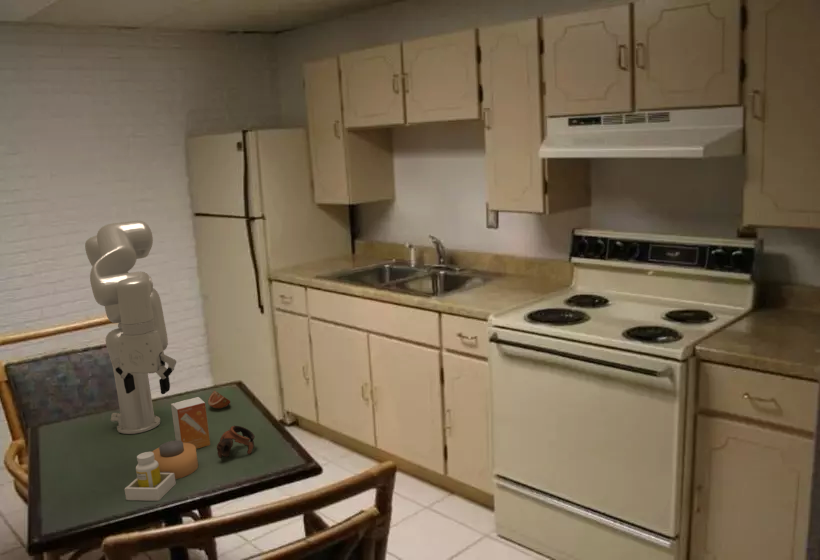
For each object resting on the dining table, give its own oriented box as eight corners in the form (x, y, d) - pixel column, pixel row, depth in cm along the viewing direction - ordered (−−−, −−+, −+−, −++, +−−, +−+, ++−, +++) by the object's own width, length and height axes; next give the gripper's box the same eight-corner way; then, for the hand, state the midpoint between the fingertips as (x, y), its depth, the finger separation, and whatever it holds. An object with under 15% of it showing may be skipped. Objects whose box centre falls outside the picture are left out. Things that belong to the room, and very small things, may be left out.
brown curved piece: (225, 446, 208) (237, 421, 207) (252, 463, 205) (264, 437, 205) (201, 454, 196) (214, 427, 196) (229, 472, 194) (242, 445, 193)
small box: (182, 453, 204) (176, 409, 201) (176, 446, 209) (170, 403, 207) (211, 445, 208) (205, 401, 206) (204, 438, 213) (198, 396, 211)
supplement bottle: (161, 484, 186) (156, 448, 184) (163, 493, 181) (157, 456, 179) (139, 489, 184) (133, 453, 182) (140, 499, 179) (134, 461, 177)
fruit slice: (235, 408, 236) (233, 394, 235) (214, 414, 232) (212, 399, 231) (225, 402, 243) (223, 387, 242) (205, 407, 239) (203, 393, 238)
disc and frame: (119, 499, 179) (115, 473, 178) (165, 459, 201) (161, 435, 199) (165, 500, 177) (161, 473, 176) (205, 460, 199) (202, 435, 197)
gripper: (98, 332, 181) (108, 397, 185) (162, 331, 178) (172, 398, 181) (115, 323, 188) (125, 386, 192) (177, 322, 185) (186, 386, 188)
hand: (148, 391), depth 187 cm, fingers open, 9 cm apart
